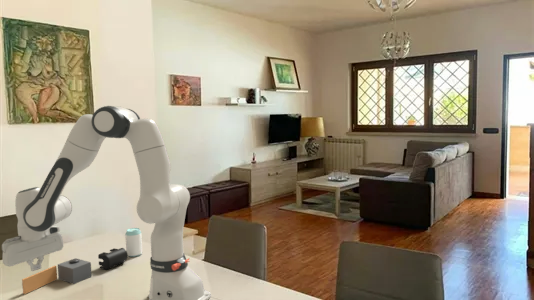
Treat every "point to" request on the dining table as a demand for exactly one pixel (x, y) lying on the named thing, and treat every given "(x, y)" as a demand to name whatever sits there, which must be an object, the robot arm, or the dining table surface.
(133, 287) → the dining table surface
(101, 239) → the dining table surface
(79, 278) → the block
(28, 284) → the door
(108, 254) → the black ridged cylinder
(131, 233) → the can
